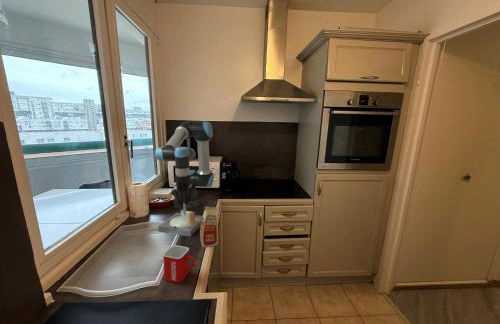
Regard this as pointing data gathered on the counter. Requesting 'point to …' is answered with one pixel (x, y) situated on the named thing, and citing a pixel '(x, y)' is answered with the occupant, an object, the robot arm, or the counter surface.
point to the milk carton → (209, 227)
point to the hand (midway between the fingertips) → (183, 214)
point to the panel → (189, 231)
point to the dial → (184, 220)
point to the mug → (176, 263)
